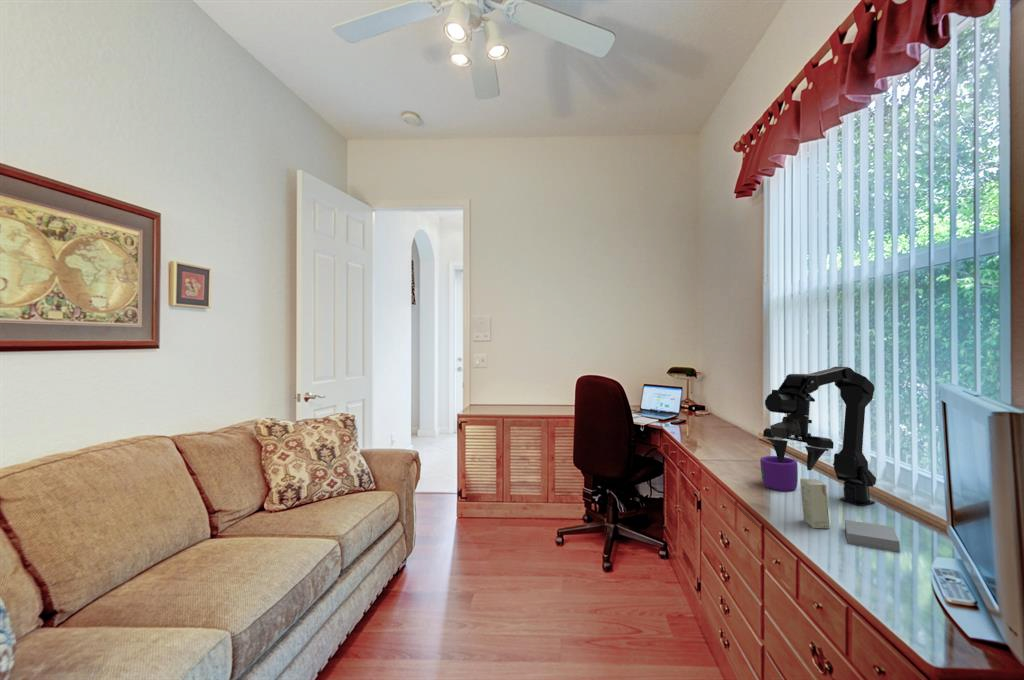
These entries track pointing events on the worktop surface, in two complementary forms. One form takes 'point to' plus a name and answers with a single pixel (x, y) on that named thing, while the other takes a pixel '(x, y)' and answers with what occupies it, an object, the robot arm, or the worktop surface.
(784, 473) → the purple oval open container
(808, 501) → the skincare box
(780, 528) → the worktop surface
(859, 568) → the worktop surface
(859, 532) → the flat gray square pad
